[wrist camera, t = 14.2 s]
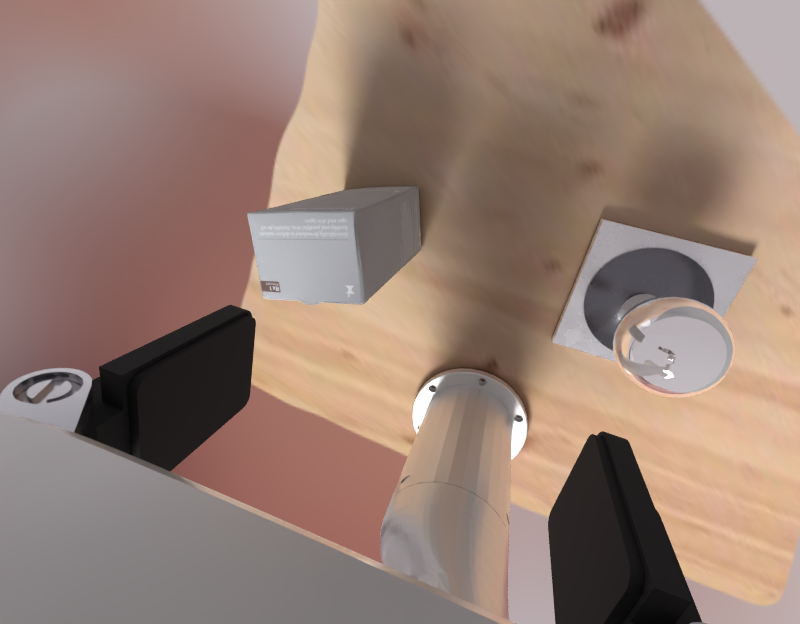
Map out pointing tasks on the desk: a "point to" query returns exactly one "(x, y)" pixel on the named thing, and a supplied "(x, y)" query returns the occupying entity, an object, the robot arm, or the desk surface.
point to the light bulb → (672, 345)
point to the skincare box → (336, 244)
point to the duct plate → (642, 281)
